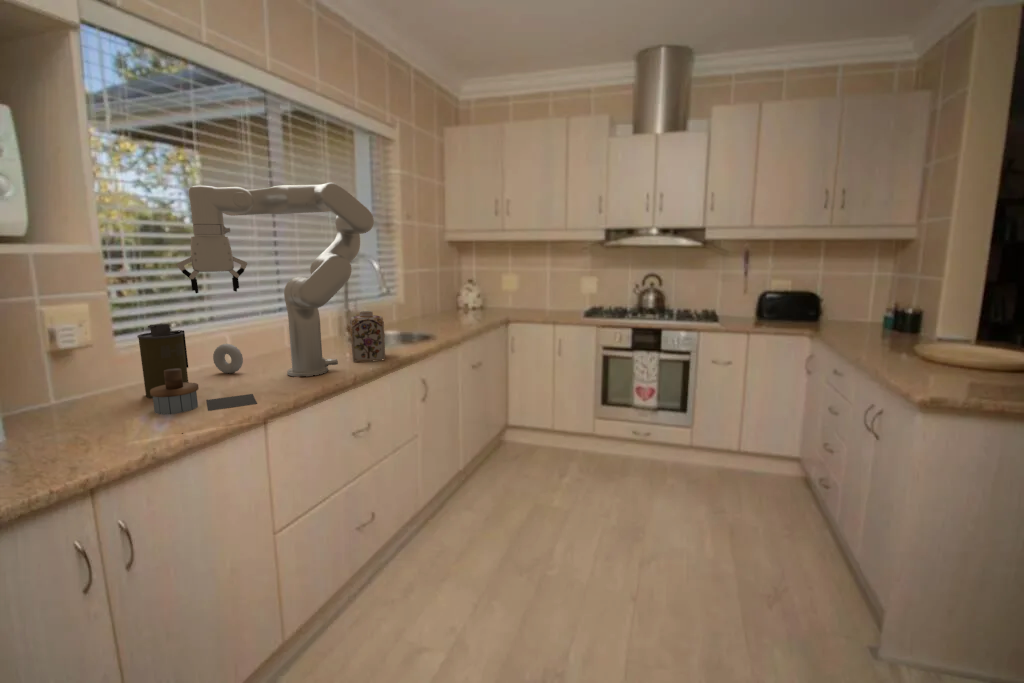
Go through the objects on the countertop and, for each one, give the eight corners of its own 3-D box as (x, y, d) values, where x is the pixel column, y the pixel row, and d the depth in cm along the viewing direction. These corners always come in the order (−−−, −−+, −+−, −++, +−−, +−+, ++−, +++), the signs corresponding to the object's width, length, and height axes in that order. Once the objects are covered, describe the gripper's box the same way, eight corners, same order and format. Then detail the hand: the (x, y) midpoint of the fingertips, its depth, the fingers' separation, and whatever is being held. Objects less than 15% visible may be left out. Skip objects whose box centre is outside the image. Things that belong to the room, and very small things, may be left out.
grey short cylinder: (197, 403, 131) (195, 385, 130) (198, 412, 123) (196, 392, 122) (156, 409, 126) (153, 389, 125) (154, 418, 118) (151, 398, 117)
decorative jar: (352, 362, 180) (349, 313, 177) (351, 356, 191) (349, 310, 188) (386, 360, 184) (384, 312, 181) (383, 354, 195) (381, 309, 191)
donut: (212, 374, 162) (208, 344, 161) (219, 371, 166) (216, 342, 164) (239, 375, 161) (236, 345, 159) (246, 372, 164) (244, 343, 162)
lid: (198, 384, 130) (195, 363, 129) (199, 393, 122) (196, 371, 121) (151, 389, 125) (148, 368, 124) (149, 399, 117) (146, 376, 116)
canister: (160, 402, 131) (150, 328, 128) (136, 397, 135) (127, 325, 132) (200, 392, 141) (192, 322, 137) (177, 388, 145) (169, 320, 142)
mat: (252, 395, 138) (252, 393, 137) (257, 405, 128) (257, 403, 128) (206, 402, 132) (206, 399, 131) (208, 413, 123) (207, 410, 122)
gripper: (242, 232, 148) (248, 289, 151) (172, 231, 138) (180, 292, 141) (245, 231, 141) (251, 291, 145) (172, 230, 132) (180, 294, 135)
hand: (216, 292), depth 143 cm, fingers open, 9 cm apart
